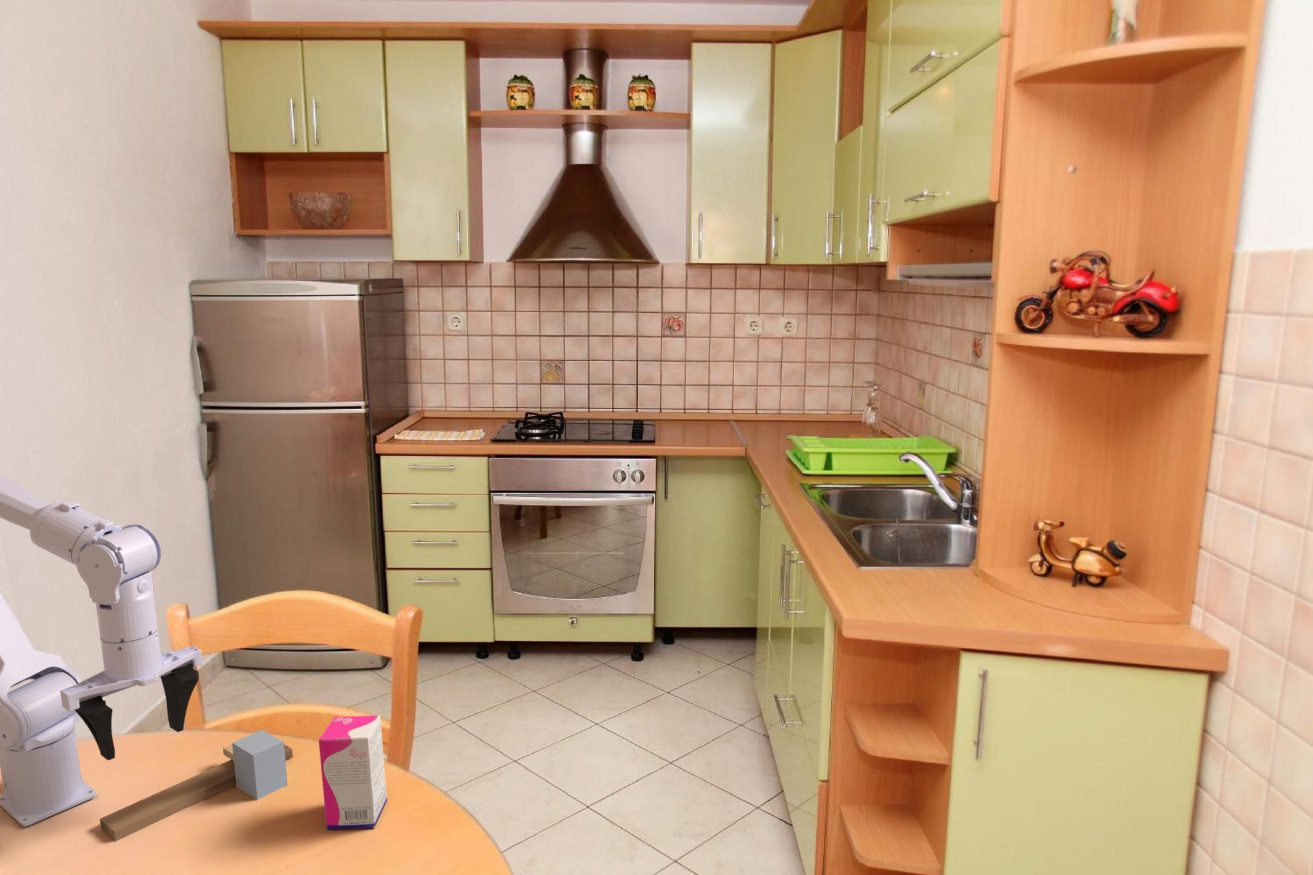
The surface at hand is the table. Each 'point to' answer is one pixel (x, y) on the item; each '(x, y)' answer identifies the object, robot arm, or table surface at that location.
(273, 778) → the grey tall block
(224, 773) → the board
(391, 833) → the table surface
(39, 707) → the robot arm
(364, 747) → the supplement box
